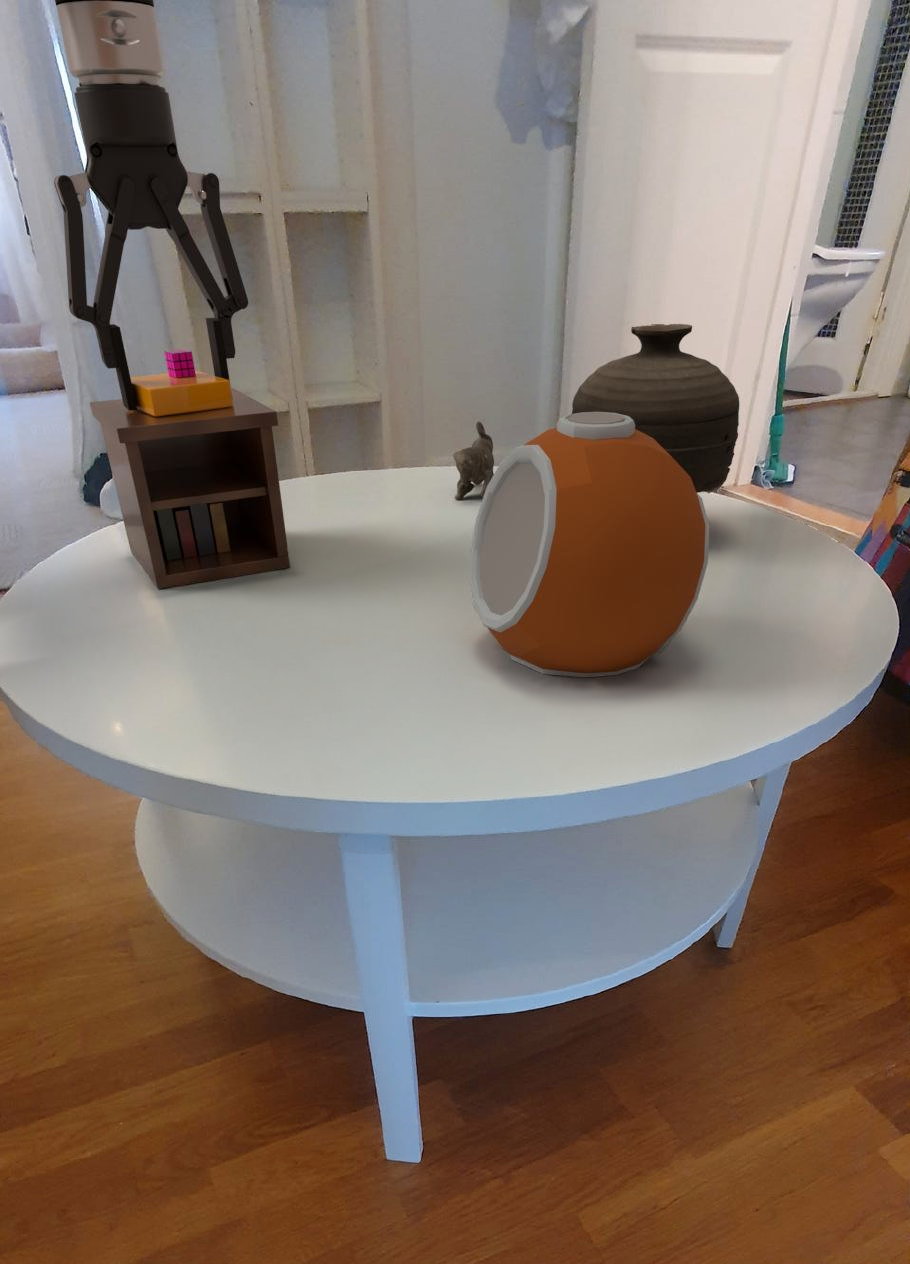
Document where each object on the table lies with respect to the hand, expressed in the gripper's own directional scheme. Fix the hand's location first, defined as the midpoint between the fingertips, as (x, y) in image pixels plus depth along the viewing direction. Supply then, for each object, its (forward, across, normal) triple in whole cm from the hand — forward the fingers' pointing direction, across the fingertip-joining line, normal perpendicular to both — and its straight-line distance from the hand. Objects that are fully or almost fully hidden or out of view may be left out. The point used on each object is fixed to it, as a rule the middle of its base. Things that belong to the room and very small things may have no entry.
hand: (178, 403), depth 89 cm
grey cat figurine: (+15, +37, +9) cm, 41 cm away
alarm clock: (+15, +22, -40) cm, 48 cm away
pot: (+15, +46, -15) cm, 51 cm away
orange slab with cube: (0, 0, 0) cm, 0 cm away
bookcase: (+15, 0, 0) cm, 15 cm away
